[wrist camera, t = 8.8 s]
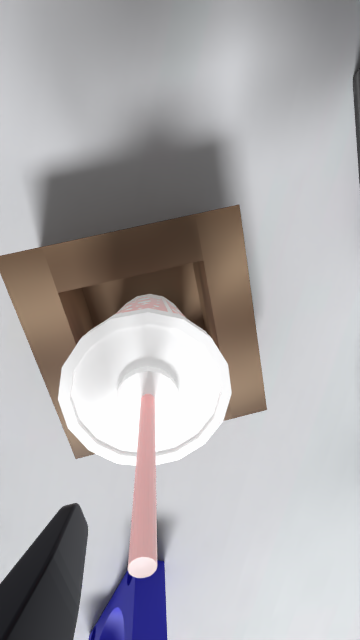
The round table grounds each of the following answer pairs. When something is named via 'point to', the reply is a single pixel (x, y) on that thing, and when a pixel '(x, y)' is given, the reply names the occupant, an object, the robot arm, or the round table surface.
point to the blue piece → (135, 610)
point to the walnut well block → (141, 279)
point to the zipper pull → (357, 111)
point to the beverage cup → (144, 401)
